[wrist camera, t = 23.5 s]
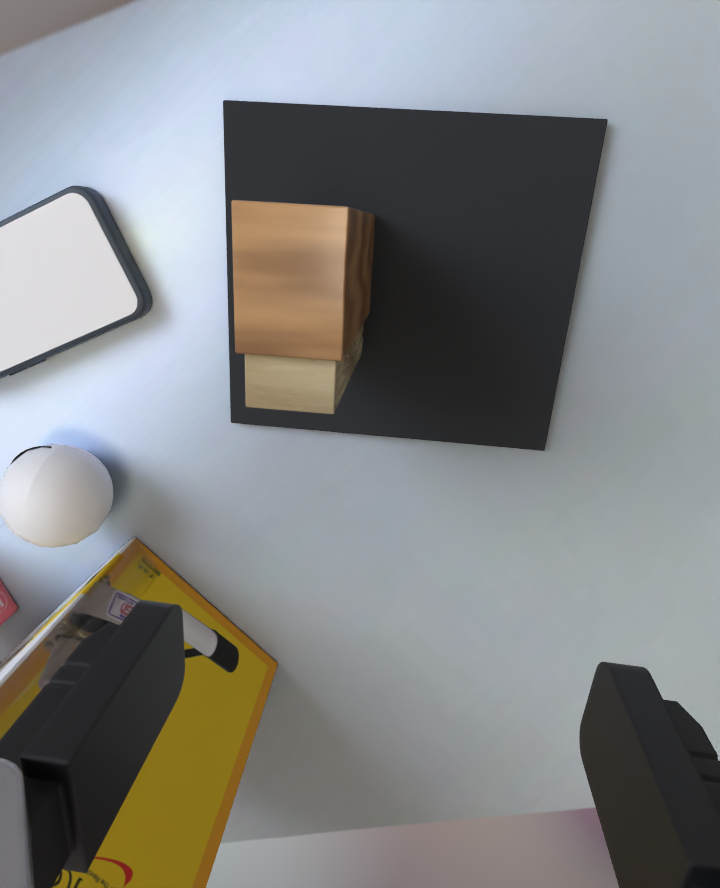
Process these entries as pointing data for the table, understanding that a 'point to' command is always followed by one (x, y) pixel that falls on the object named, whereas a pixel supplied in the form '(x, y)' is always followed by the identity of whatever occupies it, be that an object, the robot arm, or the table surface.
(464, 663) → the table surface
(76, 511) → the seamed sphere
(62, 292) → the smartphone
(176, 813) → the packaging box
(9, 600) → the ink cartridge box
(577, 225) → the mat
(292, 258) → the tall wood grain block
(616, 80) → the table surface
